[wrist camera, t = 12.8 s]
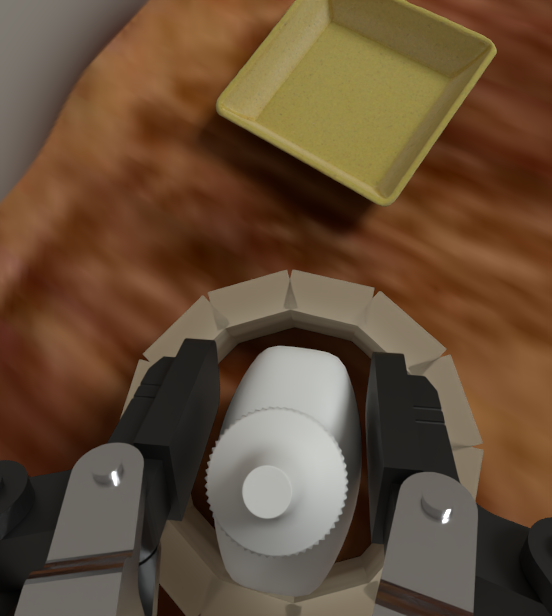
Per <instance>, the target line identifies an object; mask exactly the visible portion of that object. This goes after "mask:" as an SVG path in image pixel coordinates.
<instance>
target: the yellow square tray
mask: <svg viewBox="0 0 552 616" xmlns="http://www.w3.org/2000/svg"><path fill="white" fill-rule="evenodd" d="M495 54H496V48H495V45H494V44H493V43H492V41H491V40H490V39H488V38H486V37H485V36H483V35H481V34H479V33H476V32H474V31H471V30H469V29H467V28H465V27H463V26H461V25H459V24H456V23H455V22H452V21H450V20H448V19H446V18H444V17H441V16H439V15H436V14H435V13H432V12H430V11H427V10H425V9H424V8H421V7H418V6H415V5H413V4H411V3H409V2H407V1H405V0H295V1H294V3H293V4H292V5H291V7H290V8H289V9H288V11H287V12H286V13H285V14H284V16H283V17H282V19H281V20H280V21H279V22H278V23H277V25H276V26H275V27H274V28H273V29H272V31H271V32H270V34H269V35H268V36H267V38H266V39H265V40H264V41H263V42H262V44H261V45H260V46H259V48H258V49H257V50H256V51H255V53H254V54H253V55H252V56H251V58H250V59H249V60H248V62H247V63H246V64H245V65H244V66H243V68H242V69H241V70H240V71H239V72H238V74H237V75H236V77H235V78H234V79H233V80H232V81H231V82H230V83H229V85H228V86H227V87H226V89H225V90H224V91H223V92H222V93H221V95H220V97H219V98H218V99H217V102H216V111H217V113H218V114H219V115H220V116H222V117H224V118H226V119H227V120H229V121H231V122H233V123H234V124H236V125H238V126H240V127H242V128H244V129H245V130H247V131H249V132H251V133H252V134H254V135H256V136H258V137H259V138H261V139H263V140H265V141H266V142H268V143H270V144H272V145H273V146H275V147H277V148H279V149H281V150H282V151H284V152H286V153H288V154H289V155H291V156H293V157H295V158H296V159H298V160H300V161H302V162H303V163H305V164H307V165H309V166H310V167H312V168H314V169H316V170H318V171H319V172H321V173H323V174H325V175H326V176H328V177H330V178H332V179H333V180H335V181H337V182H339V183H341V184H342V185H344V186H346V187H348V188H349V189H351V190H353V191H355V192H356V193H358V194H360V195H362V196H363V197H365V198H367V199H369V200H370V201H372V202H374V203H375V204H377V205H380V206H389V205H391V204H392V203H393V202H394V201H395V200H396V199H397V197H398V196H399V194H400V193H401V191H402V190H403V189H404V187H405V186H406V184H407V183H408V181H409V180H410V178H411V177H412V176H413V174H414V172H415V171H416V169H417V168H418V166H419V165H420V164H421V162H422V161H423V159H424V158H425V156H426V155H427V153H428V152H429V150H430V149H431V147H432V146H433V144H434V143H435V142H436V140H437V139H438V137H439V136H440V134H441V133H442V131H443V130H444V129H445V127H446V126H447V124H448V123H449V121H450V120H451V118H452V117H453V116H454V114H455V112H456V111H457V110H458V108H459V107H460V105H461V104H462V102H463V101H464V99H465V98H466V96H467V95H468V94H469V92H470V91H471V89H472V88H473V87H474V85H475V84H476V82H477V81H478V79H479V78H480V77H481V75H482V74H483V72H484V71H485V69H486V68H487V66H488V65H489V63H490V62H491V60H492V59H493V58H494V56H495Z"/></svg>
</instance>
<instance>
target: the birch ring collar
mask: <svg viewBox="0 0 552 616" xmlns="http://www.w3.org/2000/svg"><path fill="white" fill-rule="evenodd" d="M373 292H374V288H373V287H368V286H364V285H359V284H355V283H350V282H346V281H342V280H337V279H333V278H328V277H324V276H319V275H315V274H310V273H306V272H301V271H297V270H293V271H292V274H291V278H290V279H289V276H288V272H287V270H284V271H281V272H277V273H274V274H270V275H267V276H263V277H260V278H256V279H253V280H249V281H246V282H242V283H239V284H235V285H232V286H228V287H225V288H221V289H218V290H214V291H211V292H208V295H209V299H210V302H209V301H208V300H207V299H206V298H205V297H204V296H202V297H201V298H199V299H198V300H197V301H196V302H195V303H194V304H193V305H192V306H191V307H190V308H189V309H188V310H187V311H186V312H185V313H184V314H183V315H182V316H181V317H180V318H179V319H178V320H177V321H176V322H175V323H174V324H173V325H172V326H171V327H170V328H169V329H168V330H167V331H166V332H165V333H164V334H163V335H162V336H161V337H160V338H158V339H157V340H156V341H155V342H154V343H153V344H152V345H151V346H150V347H149V348H148V349H147V350H146V351H145V352H144V353H143V355H144V356H145V357H146V358H147V359H148V360H149V361H150V362H148V361H144V360H140V359H139V362H138V365H137V368H136V371H135V374H134V377H133V380H132V384H131V387H130V390H129V393H128V396H127V399H126V402H125V405H124V408H123V411H122V414H121V417H122V415H123V414H124V412H125V410H126V408H127V406H128V404H129V403H130V401H131V399H132V398H133V397H134V394H135V392H136V390H137V388H138V386H140V383H141V381H142V379H143V377H144V376H145V374H146V372H147V370H148V368H150V367H151V366H152V365H153V364H155V363H156V362H157V361H158V360H160V359H161V358H162V357H163V356H167V357H176V355H177V353H178V351H179V349H180V347H181V345H182V343H183V341H184V339H186V338H191V339H206V340H215V342H216V345H217V356H218V364H219V363H220V362H221V361H222V359H223V358H224V357H225V356H226V355H227V354H228V353H229V352H230V351H231V350H232V349H233V348H234V347H235V346H236V345H237V344H238V343H241V342H244V341H248V340H251V339H255V338H258V337H262V336H265V335H269V334H272V333H276V332H279V331H283V330H286V329H290V328H293V327H296V328H300V329H304V330H309V331H313V332H317V333H321V334H325V335H329V336H333V337H337V338H342V339H346V340H350V341H352V342H353V343H354V344H355V345H357V346H358V347H359V348H360V349H361V350H362V351H363V352H364V353H365V354H366V355H367V356H368V357H370V358H372V353H373V351H374V352H388V353H402V354H404V357H405V362H406V368H407V374H408V375H419V376H425V377H426V378H427V379H428V380H429V381H430V383H431V384H432V385H433V386H434V387H435V389H436V390H437V391H438V395H439V399H440V403H441V407H442V409H441V411H442V412H443V416H444V420H445V425H446V428H447V432H448V436H449V440H450V444H451V448H452V453H453V457H454V461H455V465H456V469H457V473H458V477H459V480H460V483H461V484H462V485H463V486H464V487H465V488H466V489H467V490H468V491H469V492H470V494H471V495H472V497H473V498H474V500H475V499H476V493H477V487H478V481H479V475H480V469H481V463H482V457H483V451H484V450H481V449H477V448H473V447H471V446H474V445H478V444H482V443H483V442H482V439H481V437H480V434H479V431H478V428H477V426H476V423H475V420H474V418H473V415H472V412H471V409H470V407H469V404H468V401H467V398H466V396H465V393H464V390H463V388H462V385H461V382H460V379H459V377H458V374H457V371H456V368H455V366H454V363H453V360H452V358H451V355H447V356H443V357H440V356H441V355H442V353H443V352H444V351H445V350H446V348H445V347H444V346H443V345H441V344H440V343H439V342H438V341H437V340H436V339H435V338H433V337H432V336H431V335H430V334H429V333H428V332H427V331H425V330H424V329H423V328H422V327H421V326H420V325H419V324H417V323H416V322H415V321H414V320H413V319H412V318H411V317H409V316H408V315H407V314H406V313H405V312H404V311H403V310H401V309H400V308H399V307H398V306H397V305H396V304H395V303H393V302H392V301H391V300H390V299H389V298H388V297H387V296H386V295H384V294H383V293H382V292H381V291H379V292H378V293H377V294H376V295H375V296H374V297H373ZM372 297H373V298H372ZM439 357H440V358H439ZM121 417H120V419H121ZM160 540H161V563H160V577H159V583H160V585H161V586H162V587H163V588H164V589H165V591H166V592H167V593H168V594H169V596H170V597H171V598H172V599H173V601H174V602H175V603H176V604H177V605H178V607H179V608H180V609H181V610H182V612H183V613H184V614H185V615H186V616H198V615H199V614H200V613H201V615H200V616H372V614H373V609H374V604H375V600H376V595H377V591H378V587H379V583H380V579H381V574H382V569H383V565H384V560H385V556H384V544H375V543H372V544H371V545H370V546H369V547H368V548H367V549H366V550H365V552H364V553H363V554H362V555H361V556H359V557H356V558H352V559H348V560H345V561H341V562H337V563H334V564H333V566H332V568H331V569H330V571H329V573H328V575H327V576H326V578H325V579H324V580H323V582H322V583H321V585H320V586H319V587H318V588H317V589H316V590H314V591H313V592H312V593H311V594H309V595H304V596H298V597H294V596H284V595H278V594H272V593H267V592H262V591H257V590H254V589H250V588H247V587H243V586H242V585H240V584H238V583H237V582H235V581H234V580H232V578H231V577H230V575H229V573H228V572H227V570H226V569H225V565H224V562H223V559H222V556H221V553H220V549H219V544H218V540H217V535H216V531H215V529H214V528H213V527H212V526H211V525H210V524H209V523H208V521H207V520H206V519H205V518H204V517H203V516H202V515H201V513H200V512H199V511H198V510H197V509H196V508H195V507H194V505H193V501H192V497H191V494H190V498H189V501H188V504H187V507H186V510H185V513H184V516H183V519H182V521H174V520H167V521H166V524H165V527H164V530H163V532H162V535H161V538H160Z"/></svg>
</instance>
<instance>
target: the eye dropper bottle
mask: <svg viewBox="0 0 552 616" xmlns="http://www.w3.org/2000/svg"><path fill="white" fill-rule="evenodd" d="M215 442H216V447H214V448H212V451H213V454H210V455H209V457H210V461H209V462H207V464H208V467H209V468H208V469H206V470H205V471H206V473H207V474H208V475H207V476H206V477H205V480H206V481H207V484H206V485H205V487H206V488H207V492H206V495H207V496H208V497H209V498H208V500H207V502H208V503H209V504H210V505H211V506H210V508H209V510H211V511H213V516H212V517H214V522H215V529H216V535H217V540H218V544H219V549H220V553H221V556H222V559H223V562H224V565H225V569H226V570H227V572H228V573H229V575H230V577H231V578H232V580H234V581H235V582H237V583H238V584H240V585H242V586H243V587H247V588H250V589H254V590H257V591H262V592H267V593H272V594H278V595H284V596H294V597H298V596H304V595H309V594H311V593H312V592H313V591H314V590H316V589H317V588H318V587H319V586H320V585H321V583H322V582H323V580H324V579H325V578H326V576H327V575H328V573H329V571H330V569H331V568H332V566H333V564H334V562H335V561H336V558H337V556H338V554H339V552H340V550H341V548H342V546H343V543H344V541H345V538H346V536H347V533H348V530H349V527H350V524H351V521H352V518H353V514H354V510H355V507H356V502H357V497H358V492H359V485H360V478H361V466H362V437H361V426H360V418H359V412H358V407H357V402H356V398H355V394H354V390H353V387H352V384H351V381H350V378H349V375H348V373H347V370H346V368H345V366H344V365H343V363H342V362H341V361H340V359H339V358H338V357H336V356H334V355H332V354H330V353H328V352H324V351H319V350H313V349H306V348H298V347H290V346H275V347H269V348H267V349H266V350H264V351H263V352H262V353H260V354H259V355H258V356H257V358H256V359H255V360H254V361H253V363H252V364H251V365H250V367H249V369H248V370H247V372H246V373H245V375H244V377H243V378H242V380H241V382H240V384H239V386H238V387H237V389H236V392H235V394H234V396H233V398H232V400H231V402H230V405H229V407H228V410H227V412H226V415H225V418H224V421H223V424H222V427H221V431H220V435H219V438H218V441H215Z"/></svg>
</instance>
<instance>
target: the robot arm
mask: <svg viewBox="0 0 552 616" xmlns="http://www.w3.org/2000/svg"><path fill="white" fill-rule="evenodd" d="M219 399H220V380H219V368H218V356H217V345H216V342H215V340H206V339H191V338H186V339H184V341H183V343H182V345H181V347H180V349H179V351H178V353H177V355H176V357H167V356H163V357H162V358H161V359H160V360H158V361H157V362H156V363H155V364H153V365H152V366H151V367H150V368H148V370H147V372H146V374H145V376H144V377H143V379H142V381H141V383H140V386H138V388H137V390H136V392H135V394H134V397H133V398H132V399H131V401H130V403H129V404H128V406H127V408H126V410H125V412H124V414H123V415H122V417H121V419H120V421H119V423H118V424H117V426H116V428H115V430H114V432H113V433H112V435H111V437H110V439H109V441H108V442H107V444H105V445H101V446H99V447H96V448H94V449H92V450H90V451H89V452H87V453H86V454H85V455H83V456H82V457H81V458H80V459H79V460H78V461H77V463H76V464H75V466H74V467H73V469H71V470H67V471H63V472H58V473H52V474H46V475H40V476H35V477H29V476H28V474H27V471H26V469H25V468H24V467H23V466H22V465H21V464H19V463H17V462H14V461H9V460H1V461H0V616H157V606H158V592H159V577H160V563H161V540H160V538H161V535H162V532H163V530H164V527H165V524H166V521H167V520H174V521H182V519H183V516H184V513H185V510H186V507H187V504H188V501H189V498H190V494H191V491H192V488H193V485H194V482H195V479H196V476H197V473H198V470H199V466H200V463H201V460H202V457H203V454H204V451H205V448H206V445H207V442H208V438H209V435H210V432H211V429H212V426H213V423H214V420H215V417H216V414H217V410H218V406H219ZM441 409H442V407H441V403H440V399H439V395H438V391H437V390H436V389H435V387H434V386H433V385H432V384H431V383H430V381H429V380H428V379H427V378H426V377H425V376H419V375H408V374H407V368H406V362H405V357H404V354H402V353H388V352H374V351H373V353H372V358H371V366H370V374H369V382H368V390H367V398H366V411H365V426H366V447H367V468H368V488H369V509H370V529H371V543H375V544H384V556H385V560H384V565H383V569H382V574H381V579H380V583H379V587H378V591H377V595H376V600H375V604H374V609H373V614H372V616H552V517H551V518H544V519H541V520H539V521H537V522H536V523H535V524H534V525H533V526H532V527H531V529H530V528H528V527H525V526H522V525H520V524H517V523H514V522H512V521H509V520H506V519H504V518H501V517H499V516H496V515H494V514H492V513H490V512H488V511H487V510H485V509H484V508H482V507H481V506H479V505H478V504H477V503H476V502H475V500H474V498H473V497H472V495H471V494H470V492H469V491H468V490H467V489H466V488H465V487H464V486H463V485H462V484H461V483H460V480H459V477H458V473H457V469H456V465H455V461H454V457H453V453H452V448H451V444H450V440H449V436H448V432H447V428H446V425H445V420H444V416H443V412H442V411H441Z"/></svg>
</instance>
